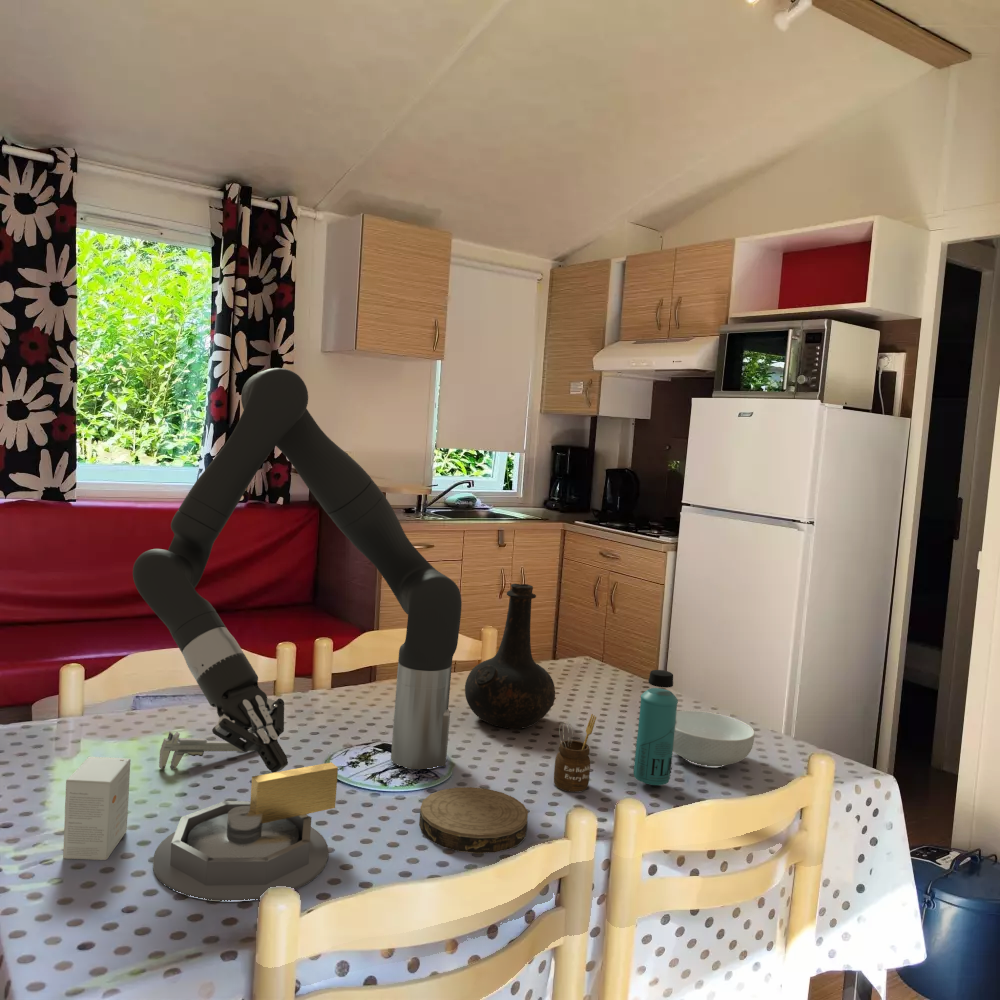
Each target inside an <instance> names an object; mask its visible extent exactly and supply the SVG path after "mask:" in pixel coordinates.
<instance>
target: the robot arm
mask: <svg viewBox="0 0 1000 1000" xmlns="http://www.w3.org/2000/svg"><path fill="white" fill-rule="evenodd" d="M240 398H241V400H240V401H241V405H242V409H243V410H242V413H241V416H240V418H239V420H238V422H237V424H236V426H235V427H234V430H233V431H232V433H231V435H230V436H229V438H228V439H227V441H226V442H225V444H224V445H223V446H222V448H221V449H220V451H219V452H218V453H217V455H216V456H215V457H214V458H213V459H212V461H211V462H210V463H209V465H207V467H206V468H205V469H204V471H203V472H202V473H201V474H200V475H199V477H198V479H197V480H196V482H194V484H193V486H192V487H191V488H190V490H189V492H188V493H187V495H186V496H185V498H184V500H183V501H182V502H181V504H180V505H179V508H177V511H176V512H175V514H174V516H173V517H172V520H171V522H170V529H171V531H172V532H173V539H172V540H171V543H170V545H169V547H168V548H167V549H168V550H167V549H162V548H153V549H148V550H146V551H144V552H142V553H141V554H140V555H139V556H138V557H137V559H136V560H135V561H134V563H133V567H132V578H133V584H134V586H135V587H136V590H137V592H138V593H139V595H140V597H141V598H142V599H143V600H144V601H145V603H146V604H147V605H148V607H149V608H150V609H151V610H152V611H153V613H154V614H155V616H157V617H158V618H159V620H161V622H162V623H163V624H164V625H165V626H166V627H167V629H168V631H169V633H170V635H171V637H172V639H173V641H174V642H175V644H176V645H177V647H178V648H179V651H180V652H181V654H182V656H183V658H184V660H185V663H186V666H187V668H188V669H189V671H190V674H191V675H192V676H193V679H194V680H195V682H196V683H197V685H198V687H199V689H200V690H201V691H202V693H203V695H204V697H205V699H206V700H207V701H208V703H209V705H210V706H211V707H213V708H216V713H217V716H218V717H219V719H218V721H217V724H215V726H214V727H213V728H212V729H211V732H212V733H213V734H214V735H215V736H217V738H220V739H221V740H222V741H227V742H228V743H230V744H232V745H234V746H235V747H237V748H239V749H240V750H242V751H241V752H245V753H247V752H250V751H249V750H254V751H253V752H255V753H258V755H259V756H260V758H261V760H262V761H263V764H265V766H266V769H268V770H269V771H270V773H275V772H280V771H283V769H284V768H286V767H287V766H288V764H289V761H288V756H287V755H286V753H285V752H284V750H283V748H282V747H281V745H280V743H279V742H278V738H279V737H280V735H282V734H283V733H284V731H285V702H284V699H282V698H278V699H276V700H273V699H271V698H269V697H268V695H267V694H266V692H265V691H263V690H262V689H261V688H260V687H259V682H258V681H259V677H258V674H257V673H256V671H255V669H254V667H253V666H252V664H251V663H250V661H249V659H248V657H247V656H246V654H245V653H244V651H243V650H242V648H241V646H240V644H239V643H238V641H237V640H236V639H235V637H234V635H232V634H231V632H230V631H229V630H228V628H227V627H226V625H225V624H224V622H223V621H222V618H221V617H220V616H219V615H220V614H218V612H217V610H216V608H215V607H213V605H212V604H211V602H209V600H207V599H205V598H204V597H203V596H201V595H200V594H199V593H198V591H197V590H196V587H197V586H198V584H199V582H200V581H201V579H202V576H203V574H204V572H205V568H206V566H207V564H208V561H209V558H210V555H211V552H212V550H213V549H212V548H213V546H214V543H215V541H216V540H217V538H218V536H220V534H221V532H223V531H222V530H223V529H224V527H225V526H226V524H227V522H228V521H229V520H230V517H231V516H232V515H233V513H234V511H235V509H236V507H237V506H238V504H239V502H240V501H241V499H242V498H243V496H244V493H245V492H246V490H247V489H248V487H249V485H250V483H252V480H253V479H254V477H255V476H256V474H257V473H258V471H259V469H260V468H261V466H262V465H263V464H264V462H265V461H266V459H267V458H268V457H269V455H270V454H271V453H272V452H273V450H274V448H277V449H278V450H279V451H280V452H281V453H282V454H283V455H284V456H285V457H286V459H287V460H288V461H289V463H291V465H292V466H293V467H294V469H295V470H296V472H297V474H298V475H299V477H300V478H301V479H302V481H303V483H304V484H305V485H306V487H307V488H308V490H309V492H311V494H312V495H313V497H314V498H315V500H316V501H317V502H318V503H319V505H320V507H321V508H322V509H323V511H324V512H325V513H326V514H327V515H328V517H329V518H330V519H331V520H332V522H333V524H335V526H336V527H337V528H338V530H340V531H341V532H342V534H343V535H344V536H345V537H346V538H347V539H348V540H349V541H350V543H351V544H352V545H353V546H354V547H355V548H356V549H357V550H359V552H360V553H361V554H362V555H364V557H366V558H367V559H368V560H369V561H370V562H371V564H373V566H375V569H377V571H378V572H379V574H380V575H381V576H382V579H384V580H385V583H386V584H387V586H388V587H389V588H390V589H391V592H392V593H393V595H394V598H395V599H396V600H397V602H398V603H399V605H400V607H401V609H402V610H403V611H404V612H405V613H406V615H407V624H406V633H405V641H404V642H403V643H402V644H401V645H400V647H399V648H398V649H399V650H398V659H397V661H398V662H397V673H396V687H395V700H394V714H393V726H392V741H391V749H390V750H391V753H390V754H391V755H390V760H391V759H392V760H391V762H392V761H393V762H394V763H396V764H398V765H400V766H403V767H407V768H411V769H410V770H413V769H427V768H433V767H437V766H447V758H448V757H447V756H448V754H447V753H448V745H449V744H448V742H449V730H450V719H451V718H450V717H451V712H450V709H449V706H450V705H449V704H450V691H451V682H452V681H451V680H452V670H453V669H452V666H453V657H454V654H455V653H456V650H457V648H458V644H459V643H458V641H459V635H460V634H459V633H460V628H461V627H460V625H461V616H462V605H463V604H462V601H463V600H462V595H461V591H460V588H459V586H458V584H456V582H455V581H454V580H452V579H451V578H450V577H448V576H447V575H445V574H443V573H442V572H441V571H439V570H437V569H436V568H435V567H434V566H433V565H432V564H431V563H430V562H429V561H428V560H427V559H426V558H425V557H424V556H423V555H422V553H421V552H419V550H418V549H417V548H416V547H415V545H413V543H412V542H411V541H410V539H409V538H408V536H407V535H406V533H405V531H404V528H403V527H402V525H401V523H400V520H399V519H398V517H397V513H396V512H395V511H394V509H393V507H392V505H391V503H390V502H389V501H388V499H387V497H386V496H385V494H384V493H383V491H382V490H381V489H380V488H379V486H378V485H377V484H376V483H375V481H374V480H373V479H372V478H371V475H369V474H368V473H367V471H365V469H364V468H363V467H362V466H361V465H360V464H359V463H358V462H357V461H356V460H355V459H354V458H352V457H351V456H350V455H349V454H348V452H346V451H345V450H343V448H342V447H340V446H339V445H337V443H335V442H334V441H332V439H331V438H330V437H329V436H327V435H326V433H325V432H324V431H323V430H322V428H321V427H320V426H319V425H318V423H317V421H315V419H314V418H313V416H312V415H311V413H310V411H309V410H308V409H307V407H308V403H309V391H308V387H307V385H306V383H305V382H304V380H303V379H302V378H301V376H300V375H299V374H297V373H296V372H294V371H292V370H290V369H287V368H284V367H283V368H281V367H274V368H273V367H272V368H268V369H265V370H262V371H259V372H257V373H255V374H253V375H252V376H251V377H249V378H247V380H246V382H245V383H244V385H243V387H242V390H241V396H240ZM245 741H246V742H245ZM393 762H392V763H393ZM394 763H393V764H394ZM396 764H395V765H396ZM400 766H399V767H400ZM403 767H402V768H403ZM437 768H438V767H437Z"/></svg>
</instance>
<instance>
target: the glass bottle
mask: <svg viewBox="0 0 1000 1000" xmlns="http://www.w3.org/2000/svg"><path fill="white" fill-rule="evenodd" d="M533 590H534V586H532V585H531V584H527V583H524V584H523V583H522V584H521V583H520V584H519V583H511V585H510V589H509V590H507V592H506V596H508V597H509V602H508V609H507V614H506V621H505V626H504V629H503V635H502V639H501V642H500V645H499V647H498V651H497V652H496V654H495V655H494V656H493V657H492V658H489V659H486V660H483V661H481V662H479V663H477V664H476V666H474V667H473V668H472V669H471V671H469V674H468V675H467V677H466V680H465V683H464V695H465V700H466V702H467V705H468V706H469V708H470V710H471V711H472V712H473V713H474V714H475V716H476V717H478V719H480V720H481V721H484V722H486V723H487V724H489V725H492V726H495V727H499V728H502V727H503V729H510V728H511V729H512V730H513V729H514V730H518V729H519V728H521V729H525V728H529V727H531V726H533V725H535V724H536V723H538V722H540V721H541V720H542V719H543V718H544V717H545V716H546V715H547V714H548V713H549V711H550V710H551V708H552V707H553V706H554V702H555V700H556V687H555V683H554V680H553V678H552V676H551V675H550V673H549V672H548V671H547V670H546V669H545V668H543V667H542V666H541V665H540V664H538V663H536V662H535V661H534V658H533V655H532V647H531V622H532V621H531V617H532V616H531V615H532V599H535V598H537V595H536V594H534V593H533Z"/></svg>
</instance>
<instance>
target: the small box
mask: <svg viewBox="0 0 1000 1000" xmlns="http://www.w3.org/2000/svg"><path fill="white" fill-rule="evenodd" d="M130 774H131V758H124V757H106V756H105V757H104V756H102V757H101V756H88V757H87V758H86V759H85V760H84V761H83V762H82V763H81V764H80V765H79V766H78V768H76V770H75V771H74V772H73V773H72V774H71V775H70V776H69V777H68V778H67V779H66V780H65V806H64V825H63V826H64V829H63V850H62V851H63V852H62V854H63V855H62V858H63V859H65V860H66V859H67V860H72V859H73V860H89V861H90V860H93V861H107V860H108V858H109V857H110V855H111V854H112V853H113V852H114V850H115V848H116V847H117V845H119V843H120V842H121V840H122V838H123V837H124V836H125V834H126V833H127V830H128V816H129V815H128V814H129V812H128V811H129V795H130Z"/></svg>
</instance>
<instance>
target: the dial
mask: <svg viewBox="0 0 1000 1000" xmlns="http://www.w3.org/2000/svg"><path fill="white" fill-rule="evenodd" d="M338 771H339V767H338V766H337V765H335V764H334V763H333V762H326V763H321V764H314V765H309V766H303V767H298V768H291V769H286V770H280V771H278V772H275V773H272V772H270V773H264V774H259V775H253V776H251V788H250V789H251V790H250V806H239V807H236V808H233V809H231V810H230V811H229V812H228V813H227V814H222V815H218V816H215V817H212V818H209V819H207V820H205V821H203V822H201V823H199V824H198V825H196V826H195V827H194V828H193V829H192V830H191V831H190V833H189V835H188V843H187V845H189V846H191V847H193V848H195V849H197V850H198V851H200V852H202V853H204V854H206V855H208V856H210V857H211V858H248V857H266V856H268V855H271V854H273V853H275V852H277V851H280V850H282V849H284V848H286V847H288V846H291V845H293V844H295V843H297V842H298V837H299V832H298V829H297V827H296V826H295V825H294V824H293V823H292V822H291V821H289V820H288V819H286V818H290V817H295V816H300V815H304V814H307V815H309V814H313V813H318V812H323V811H327V810H332V809H336V802H337V800H336V799H337V784H338Z"/></svg>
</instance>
